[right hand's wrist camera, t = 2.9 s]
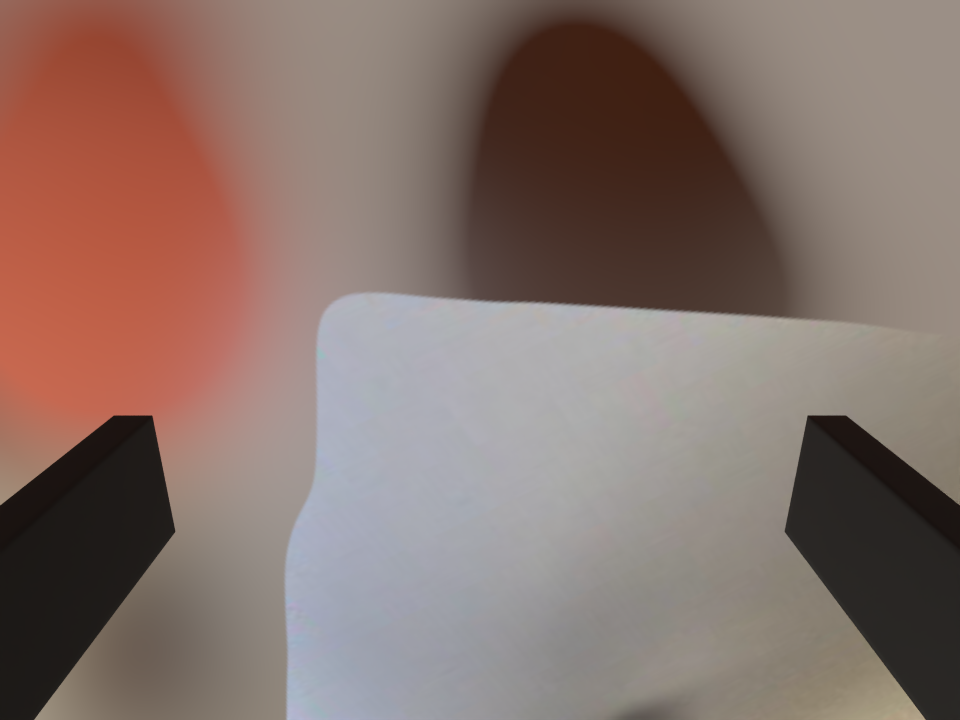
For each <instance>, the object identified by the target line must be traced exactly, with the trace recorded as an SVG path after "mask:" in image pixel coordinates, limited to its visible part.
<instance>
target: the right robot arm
mask: <svg viewBox="0 0 960 720" xmlns="http://www.w3.org/2000/svg"><path fill="white" fill-rule="evenodd" d="M174 533H175V528H174V523H173V518H172V512H171V507H170V502H169V497H168V492H167V487H166V482H165V477H164V472H163V467H162V462H161V457H160V452H159V447H158V442H157V437H156V432H155V427H154V422H153V417H152V416H113V417H112V418H110V419H109V420H108V421H107V422H105V423H104V424H103V425H101V426H100V427H99V428H98V429H96V430H95V431H94V432H93V433H91V434H90V435H89V436H88V437H86V438H85V439H84V440H82V441H81V442H80V443H79V444H77V445H76V446H75V447H74V448H72V449H71V450H70V451H69V452H67V453H66V454H65V455H64V456H62V457H61V458H60V459H59V460H57V461H56V462H55V463H53V464H52V465H51V466H50V467H48V468H47V469H46V470H45V471H43V472H42V473H41V474H39V475H38V476H37V477H36V478H34V479H33V480H32V481H31V482H29V483H28V484H27V485H26V486H24V487H23V488H22V489H20V490H19V491H18V492H17V493H16V494H14V495H13V496H12V497H10V498H9V499H8V500H7V501H5V502H4V503H3V504H2V505H0V720H34V719H35V718H36V716H37V715H38V714H39V712H40V711H41V710H42V708H43V707H44V706H45V704H46V703H47V702H48V700H49V699H50V698H51V696H52V695H53V694H54V692H55V691H56V690H57V689H58V687H59V686H60V685H61V683H62V682H63V681H64V679H65V678H66V677H67V675H68V674H69V673H70V671H71V670H72V669H73V667H74V666H75V664H76V663H77V662H78V661H79V659H80V658H81V657H82V655H83V654H84V652H85V651H86V650H87V649H88V647H89V646H90V645H91V643H92V642H93V641H94V639H95V638H96V637H97V635H98V634H99V633H100V631H101V630H102V629H103V627H104V626H105V625H106V623H107V622H108V621H109V619H110V618H111V617H112V615H113V614H114V613H115V611H116V610H117V609H118V607H119V606H120V605H121V603H122V602H123V601H124V599H125V598H126V597H127V595H128V594H129V593H130V591H131V590H132V589H133V587H134V586H135V585H136V583H137V582H138V581H139V579H140V578H141V577H142V575H143V574H144V573H145V571H146V570H147V569H148V567H149V566H150V565H151V563H152V562H153V561H154V559H155V558H156V557H157V555H158V554H159V553H160V551H161V550H162V549H163V547H164V546H165V545H166V543H167V542H168V541H169V539H170V538H171V537H172V535H173V534H174ZM785 533H786V534H787V535H788V537H789V538H790V539H791V541H792V542H793V543H794V545H795V546H796V547H797V549H798V550H799V551H800V553H801V554H802V555H803V557H804V558H805V559H806V561H807V562H808V563H809V565H810V566H811V567H812V569H813V570H814V571H815V573H816V574H817V575H818V577H819V578H820V579H821V581H822V582H823V583H824V585H825V586H826V587H827V589H828V590H829V591H830V593H831V594H832V595H833V597H834V598H835V599H836V601H837V602H838V603H839V605H840V606H841V607H842V609H843V610H844V611H845V613H846V614H847V615H848V617H849V618H850V619H851V621H852V622H853V623H854V625H855V626H856V627H857V629H858V630H859V631H860V633H861V634H862V635H863V637H864V638H865V639H866V641H867V642H868V643H869V645H870V646H871V647H872V649H873V650H874V651H875V653H876V654H877V655H878V657H879V658H880V659H881V661H882V662H883V663H884V665H885V666H886V667H887V669H888V670H889V671H890V673H891V674H892V675H893V677H894V678H895V679H896V681H897V682H898V683H899V685H900V686H901V687H902V689H903V690H904V691H905V692H906V694H907V695H908V696H909V698H910V699H911V700H912V702H913V703H914V704H915V706H916V707H917V708H918V710H919V711H920V712H921V714H922V715H923V716H924V718H925V719H926V720H960V505H958V504H957V503H956V502H955V501H953V500H952V499H951V498H950V497H948V496H947V495H946V494H945V493H943V492H942V491H941V490H940V489H938V488H937V487H936V486H934V485H933V484H932V483H931V482H929V481H928V480H927V479H926V478H924V477H923V476H922V475H921V474H919V473H918V472H917V471H915V470H914V469H913V468H912V467H910V466H909V465H908V464H907V463H905V462H904V461H903V460H902V459H900V458H899V457H898V456H896V455H895V454H894V453H893V452H891V451H890V450H889V449H888V448H886V447H885V446H884V445H883V444H881V443H880V442H879V441H878V440H876V439H875V438H874V437H872V436H871V435H870V434H869V433H867V432H866V431H865V430H864V429H862V428H861V427H860V426H859V425H857V424H856V423H855V422H853V421H852V420H851V419H850V418H848V417H847V416H808V417H807V422H806V427H805V432H804V437H803V442H802V447H801V452H800V457H799V462H798V467H797V472H796V477H795V482H794V487H793V492H792V497H791V502H790V507H789V512H788V517H787V522H786V528H785Z"/></svg>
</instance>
